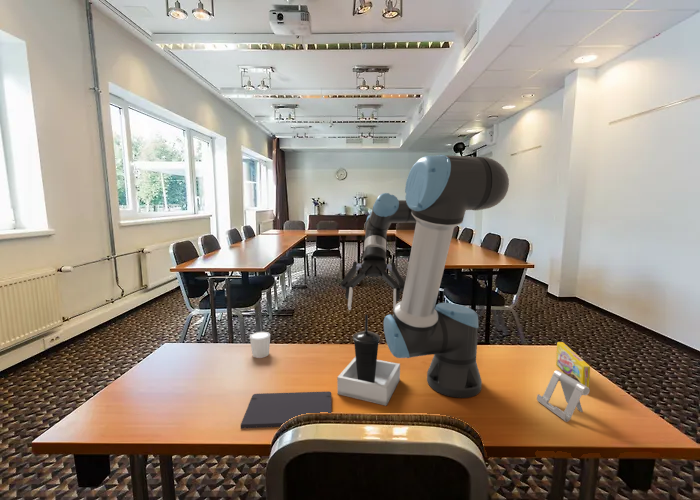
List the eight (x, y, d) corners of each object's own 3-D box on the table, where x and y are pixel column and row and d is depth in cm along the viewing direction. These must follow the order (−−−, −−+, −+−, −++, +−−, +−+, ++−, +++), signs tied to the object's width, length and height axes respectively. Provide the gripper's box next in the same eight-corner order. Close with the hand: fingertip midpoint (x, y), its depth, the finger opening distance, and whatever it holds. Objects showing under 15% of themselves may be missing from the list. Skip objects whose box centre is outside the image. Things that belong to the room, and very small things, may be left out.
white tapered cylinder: (246, 357, 114) (246, 338, 113) (256, 349, 121) (255, 330, 120) (265, 359, 113) (265, 339, 112) (274, 350, 120) (273, 332, 118)
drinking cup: (379, 375, 100) (379, 310, 98) (379, 389, 93) (380, 320, 90) (354, 374, 101) (353, 310, 98) (352, 388, 94) (351, 319, 91)
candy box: (554, 365, 109) (556, 341, 108) (561, 366, 108) (564, 341, 107) (580, 393, 93) (583, 365, 92) (589, 394, 93) (592, 366, 91)
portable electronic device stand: (536, 401, 89) (539, 372, 88) (560, 397, 91) (563, 369, 90) (563, 422, 81) (567, 390, 80) (590, 417, 83) (593, 386, 81)
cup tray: (399, 379, 100) (400, 363, 99) (386, 405, 87) (386, 387, 86) (356, 370, 105) (356, 355, 105) (337, 394, 92) (337, 377, 92)
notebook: (240, 430, 79) (331, 427, 80) (240, 424, 78) (331, 421, 80) (253, 398, 91) (331, 396, 92) (252, 393, 91) (331, 391, 92)
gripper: (411, 259, 115) (413, 316, 102) (339, 257, 118) (332, 312, 105) (412, 246, 109) (414, 304, 96) (337, 244, 112) (329, 301, 99)
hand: (371, 309), depth 101 cm, fingers open, 13 cm apart
